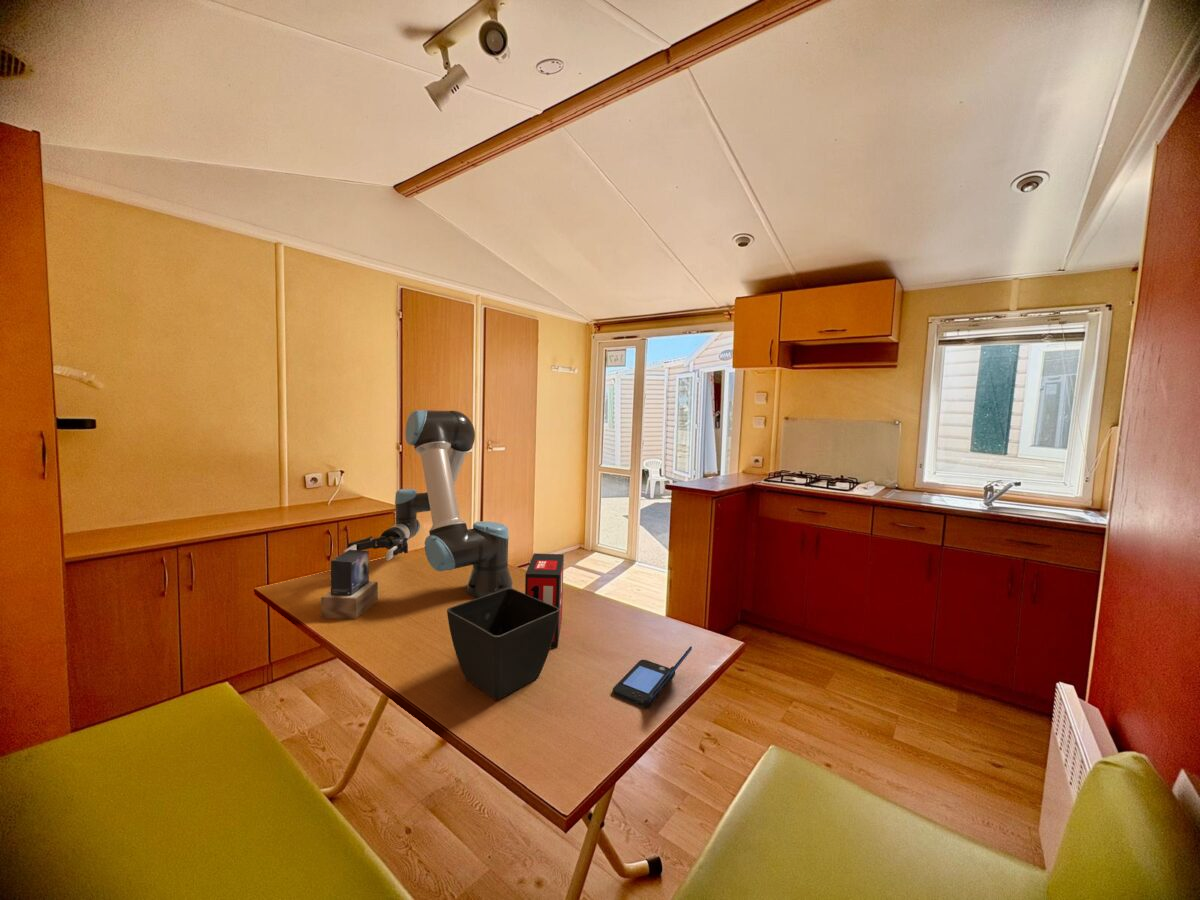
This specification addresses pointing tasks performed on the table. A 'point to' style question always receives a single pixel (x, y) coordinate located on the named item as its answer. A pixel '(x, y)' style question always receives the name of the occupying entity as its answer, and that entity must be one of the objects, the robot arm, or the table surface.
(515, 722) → the table surface
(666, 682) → the black walkie-talkie
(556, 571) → the cleaning product box
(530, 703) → the table surface
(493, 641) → the flower pot
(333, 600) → the base
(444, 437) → the robot arm
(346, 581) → the small box
